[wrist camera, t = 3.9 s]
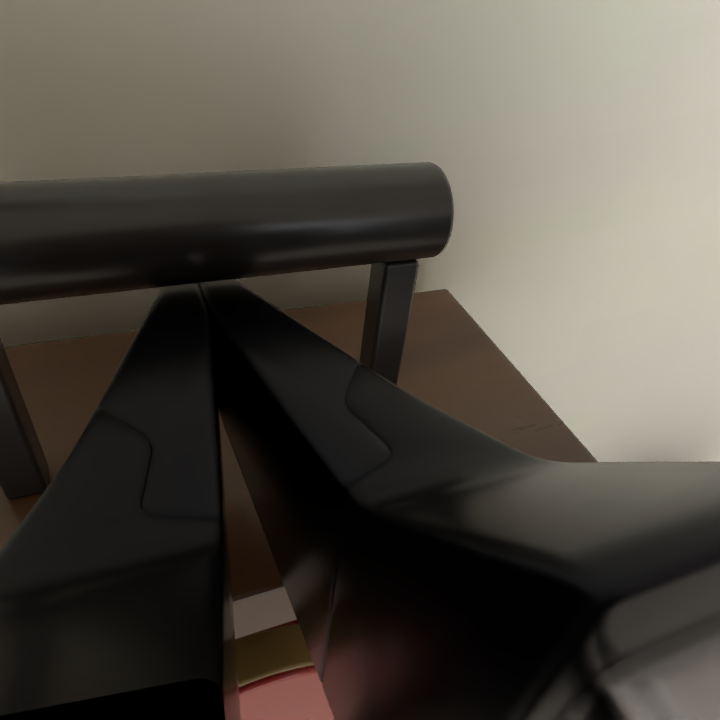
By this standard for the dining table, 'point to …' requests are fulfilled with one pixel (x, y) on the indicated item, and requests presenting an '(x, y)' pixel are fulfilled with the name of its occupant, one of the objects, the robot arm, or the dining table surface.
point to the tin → (279, 677)
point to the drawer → (233, 261)
